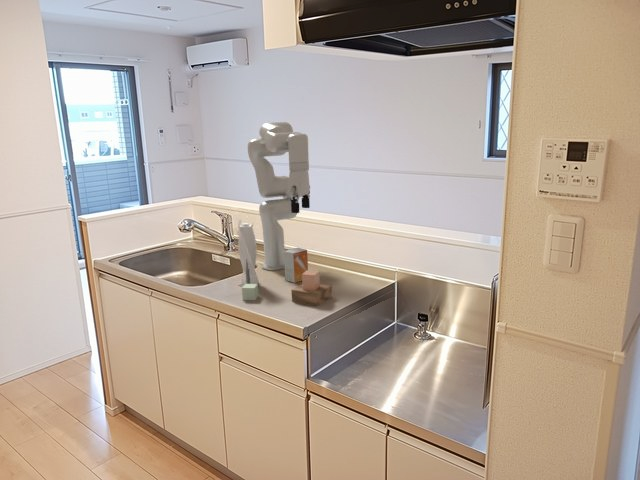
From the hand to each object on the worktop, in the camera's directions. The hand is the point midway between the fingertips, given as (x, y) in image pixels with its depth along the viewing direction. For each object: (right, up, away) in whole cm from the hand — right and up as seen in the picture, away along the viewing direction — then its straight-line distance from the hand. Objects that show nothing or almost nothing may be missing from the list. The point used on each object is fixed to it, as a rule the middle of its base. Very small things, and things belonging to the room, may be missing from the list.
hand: (300, 210), depth 198 cm
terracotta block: (+4, -30, -7) cm, 31 cm away
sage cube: (-19, -34, -1) cm, 40 cm away
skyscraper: (-22, -31, +16) cm, 41 cm away
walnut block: (+5, -35, -5) cm, 35 cm away
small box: (-2, -29, +19) cm, 35 cm away
